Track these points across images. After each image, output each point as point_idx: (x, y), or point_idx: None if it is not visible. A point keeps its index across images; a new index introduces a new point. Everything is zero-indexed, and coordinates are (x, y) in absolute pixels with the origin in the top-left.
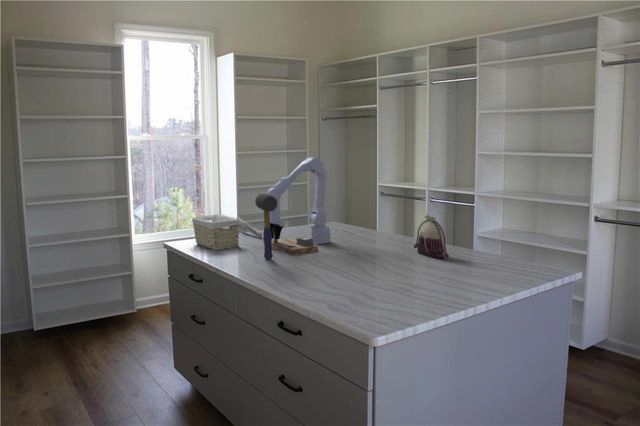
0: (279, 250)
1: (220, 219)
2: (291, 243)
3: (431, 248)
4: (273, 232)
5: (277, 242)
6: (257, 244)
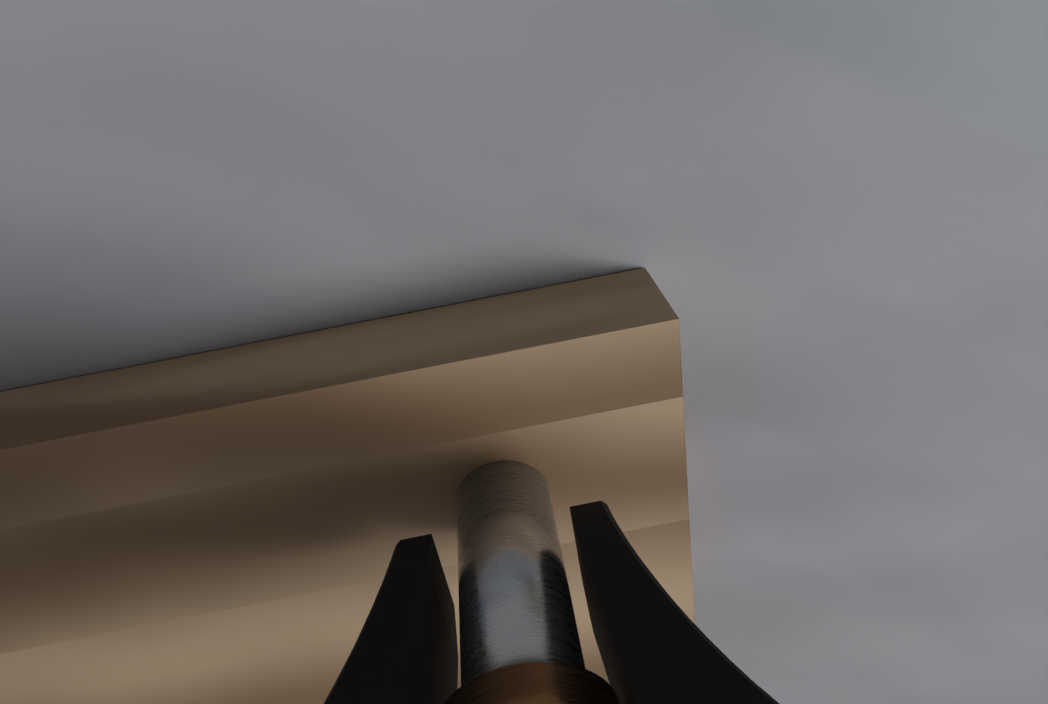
0: (45, 387)
1: None
2: (190, 687)
3: None
4: (486, 680)
5: (435, 513)
6: (1003, 178)
